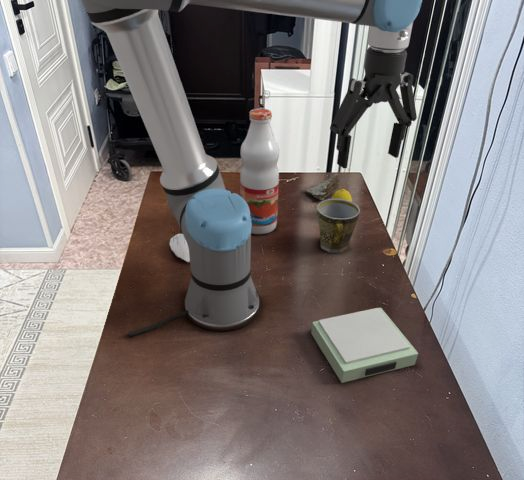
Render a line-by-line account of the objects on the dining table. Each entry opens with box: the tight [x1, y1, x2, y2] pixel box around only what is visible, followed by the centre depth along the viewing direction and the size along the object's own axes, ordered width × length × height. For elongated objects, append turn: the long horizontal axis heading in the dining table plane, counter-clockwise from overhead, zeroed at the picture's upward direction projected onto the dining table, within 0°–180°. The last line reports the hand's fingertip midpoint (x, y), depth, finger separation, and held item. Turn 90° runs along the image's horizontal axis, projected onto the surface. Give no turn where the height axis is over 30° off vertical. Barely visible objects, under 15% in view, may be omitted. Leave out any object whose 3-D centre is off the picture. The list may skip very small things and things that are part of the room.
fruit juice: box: [239, 107, 280, 235], centre depth 118 cm, size 9×9×28 cm
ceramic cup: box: [316, 198, 361, 254], centre depth 117 cm, size 13×10×10 cm
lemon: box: [330, 188, 353, 202], centre depth 129 cm, size 6×6×8 cm
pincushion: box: [169, 230, 190, 263], centre depth 116 cm, size 12×6×6 cm, turn 19°
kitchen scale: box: [310, 307, 419, 384], centre depth 93 cm, size 15×14×4 cm
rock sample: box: [304, 173, 340, 201], centre depth 139 cm, size 10×8×9 cm
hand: (367, 160), depth 107 cm, fingers open, 13 cm apart
